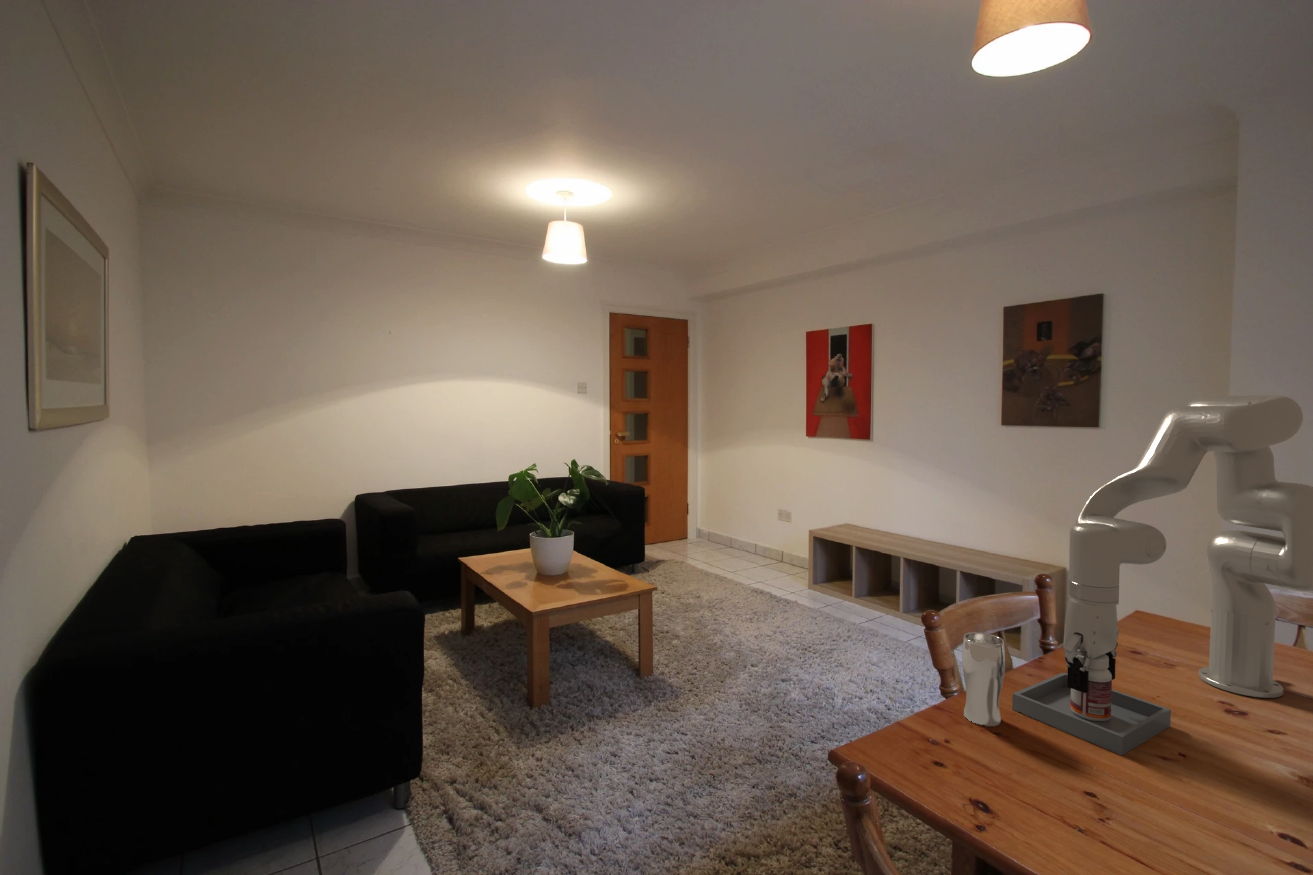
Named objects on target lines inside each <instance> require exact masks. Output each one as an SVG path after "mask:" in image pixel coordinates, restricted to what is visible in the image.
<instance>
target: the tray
mask: <svg viewBox="0 0 1313 875" xmlns="http://www.w3.org/2000/svg"><path fill="white" fill-rule="evenodd" d="M1067 679H1068V672H1067V673H1066V672H1063V671H1062V672H1061V673H1058V674H1055V675H1053V676H1051V677H1048V678H1047V679H1044V680H1041V681H1039V682H1037V683H1034V684H1032V685H1030V686H1027V687H1025V688H1023V689H1020V690H1018V691H1017V690H1016V691H1015V692H1013V693H1012V703H1011V704H1012V707H1011V708H1012V709H1013V711H1015V710H1016V711H1015V712H1017V713H1019V712H1021V713H1020V714H1022V713H1023V714H1022V715H1024V714H1025V716H1027V717H1029V716H1030V717H1029V718H1031V717H1032V718H1031V719H1034V720H1036V721H1038V720H1039V722H1041V723H1044V724H1045V725H1049V726H1050V727H1054V728H1056V729H1058V730H1060V731H1062V732H1065V733H1067V734H1069V735H1072V736H1074V737H1076V738H1080V739H1081V740H1084V741H1085V742H1089V743H1091V744H1093V745H1095V746H1099V747H1101V748H1103V749H1105V750H1109V751H1110V752H1112V753H1115V754H1117V755H1120V756H1124V755H1126V754H1127V753H1129V752H1130V751H1131V750H1133V749H1135V748H1137V747H1138V746H1140V745H1141V744H1143V743H1145V742H1147V741H1149V740H1150V739H1152V738H1154V737H1155V736H1156V735H1158V734H1160V733H1161V732H1163V731H1165V730H1167V729H1168V728H1170V727H1171V723H1172V722H1171V718H1172V717H1171V715H1172V709H1171V708H1168V707H1166V706H1162V705H1160V704H1156V703H1153V702H1151V701H1148V700H1145V699H1142V698H1139V697H1135V696H1133V695H1130V694H1127V693H1125V692H1122V691H1118V690H1116V689H1113V688H1112V693H1111V718H1110V719H1109V720H1107V721H1091V720H1087V719H1084V718H1082V717H1079V716H1078V715H1076V714H1074V713H1073V712H1072V710H1071V707H1070V704H1071V703H1070V702H1071V688H1069V687H1068V686H1067Z"/></svg>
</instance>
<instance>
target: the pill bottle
mask: <svg viewBox="0 0 1313 875" xmlns="http://www.w3.org/2000/svg"><path fill="white" fill-rule="evenodd" d="M1077 651H1080V652H1083V653H1087V652H1084V651H1081V650H1077ZM1076 657H1077V658H1078V659H1079V660H1080V662H1081V663H1082V660H1083V658H1082V657H1079V656H1076ZM1108 667H1109V657H1108V656H1107V655H1106V654H1103V655H1101V656H1099V657H1096V658H1093V659H1090V661H1089V663H1088V666H1087V668H1086V671H1089V679H1088V692H1087V693H1083V692H1080V691H1077V690H1074V689H1072V688H1071V702H1070V703H1071V704H1070V707H1071V710H1072V712H1073V713H1074V714H1076V715H1078V716H1079V717H1082V718H1084V719H1087V720H1091V721H1107V720H1109V719H1110V718H1111V693H1112V689H1113V688H1112V687H1113V680H1112V675H1111V673H1110V671H1109V670H1108V669H1107V668H1108Z"/></svg>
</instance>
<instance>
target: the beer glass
mask: <svg viewBox="0 0 1313 875" xmlns="http://www.w3.org/2000/svg"><path fill="white" fill-rule="evenodd" d="M1005 651H1006V650H1005V641H1004V639H1002V637H999V636H997V635H995V634H992V633H987V632H980V631H971V632H965V633H964V634H963V642H962V651H961V653H962V654H961V666H962V673H963V674H962V675H963V681H964V685H965V693H966V698H965V700H966V701H965V705H964V709H963V717H964V718H965V717H966V718H967V719H968V720H967V719H966V718H965V719H966V720H967V721H969V722H971V721H972V722H971V723H973V724H975V723H976V724H975V725H978V724H979V725H978V726H982V725H985V726H984V727H996V726H999V725H1000V724H1001V723H1002V722H1001V721H1002V719H1001V712H1000V695H1001V692H1002V687H1003V683H1004V682H1003V681H1004V678H1005V668H1006V652H1005Z"/></svg>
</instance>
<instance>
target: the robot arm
mask: <svg viewBox="0 0 1313 875" xmlns="http://www.w3.org/2000/svg"><path fill="white" fill-rule="evenodd" d="M1303 420H1304V414H1303V409H1302V408H1301V406H1300V404H1299V403H1298V402H1297V401H1296V400H1294V399H1293V398H1290V397H1289V396H1285V395H1214V396H1213V395H1212V396H1204V397H1198V398H1195V399H1193V400H1191V401H1190V402H1189V403H1188V404H1187V405H1186V406H1178V407H1176V408H1172V409H1170V410H1168V411H1166V413H1165V414H1164V415H1163V416H1162V417H1161V419H1160V421H1159V423H1158V424H1157V426H1156V428H1155V430H1154V431H1153V433H1152V435H1151V437H1150V439H1149V440H1148V442H1147V444H1146V446H1145V448H1144V449H1143V451H1142V452H1141V455H1140V457H1139V458H1138V460H1137V462H1136V464H1135V465H1134V466H1133V467H1132V468H1131V469H1129V470H1127V471H1125V472H1123V473H1122V474H1119V475H1118V476H1116V477H1114V478H1112V479H1111V480H1110V481H1108V482H1107V483H1105V484H1104V485H1102V486H1100V487H1099V488H1097V490H1096V491H1094V492H1093V494H1091V495H1090V496H1089V498H1088V499H1087V501H1086V502H1085V504H1084V506H1083V508H1082V509H1081V511H1080V513H1079V514H1078V517H1077V518H1076V521H1075V523H1074V524H1073V525H1072V526H1071V527H1070V531H1069V549H1068V550H1069V556H1068V557H1069V558H1068V559H1069V560H1068V564H1069V565H1068V566H1069V567H1068V598H1069V600H1068V603H1067V608H1066V613H1065V621H1064V631H1063V632H1064V633H1063V652H1064V655H1065V657H1064V659H1065V662H1066V663H1065V664H1066V667H1067V674H1068V679H1067V686H1068V687H1069V688H1072V689H1074V690H1077V691H1080V692H1083V693H1087V692H1088V679H1089V671H1086V668H1087V666H1088V663H1089V661H1090V659H1093V658H1096V657H1099V656H1101V655H1103V654H1106V655H1107V656H1108V657H1109V667H1108V668H1107V669H1108V670H1109V671H1110V673H1111V675H1112V681H1113V680H1115V679H1116V663H1117V662H1116V658H1117V656H1118V655H1117V654H1118V653H1117V650H1116V649H1117V648H1118V646H1119V645H1118V644H1119V642H1118V638H1119V636H1120V630H1119V629H1118V610H1117V605H1119V604H1120V573H1121V572H1120V569H1121V568H1120V566H1121V565H1122V564H1125V565H1127V564H1128V565H1129V564H1130V565H1148V564H1149V565H1150V564H1152V563H1154V562H1157V561H1158V560H1160V559H1161V558H1162V557H1163V556H1164V554H1165V552H1166V550H1167V540H1166V538H1165V535H1164V534H1163V533H1162V532H1161V531H1160V530H1159V529H1158V528H1157V527H1154V526H1152V525H1151V524H1147V523H1143V522H1138V521H1132V520H1127V519H1122V518H1116V516H1117V515H1118V514H1119V513H1120V512H1122V511H1123V510H1125V509H1126V508H1128V507H1130V506H1132V505H1135V504H1137V503H1140V502H1144V501H1148V500H1153V499H1158V498H1161V497H1166V496H1170V495H1173V494H1177V493H1179V492H1182V491H1184V490H1185V489H1187V487H1188V486H1189V484H1190V483H1191V480H1192V479H1193V477H1194V475H1195V472H1196V471H1197V470H1198V468H1199V465H1200V464H1201V462H1202V460H1203V458H1204V457H1205V455H1206V454H1207V453H1208V452H1209V453H1210V452H1213V454H1214V458H1215V467H1216V470H1215V471H1216V476H1215V477H1216V508H1217V512H1218V515H1219V516H1220V518H1221V519H1222V520H1224V521H1225V522H1228V523H1231V524H1235V525H1238V526H1239V525H1240V526H1244V527H1249V528H1257V529H1263V530H1269V531H1274V532H1275V531H1277V532H1281V533H1283V536H1284V537H1281V536H1276V535H1270V534H1265V533H1258V532H1254V531H1253V532H1252V531H1245V530H1238V529H1237V530H1233V529H1232V530H1224V531H1219V532H1217V533H1215V534H1214V535H1213V536H1212V537H1211V538H1210V539H1209V541H1208V544H1207V546H1206V555H1207V562H1208V565H1209V570H1210V576H1211V608H1210V610H1211V611H1210V612H1211V614H1210V631H1209V632H1210V634H1209V655H1208V659H1209V660H1208V665H1207V666H1203V667H1201V668H1199V670H1198V677H1199V678H1200V679H1201V680H1202V681H1204V682H1205V683H1207V684H1209V685H1211V686H1213V687H1215V688H1218V689H1220V690H1224V691H1227V692H1230V693H1234V694H1237V695H1242V696H1246V697H1247V696H1248V697H1253V698H1261V699H1262V698H1263V699H1275V698H1279V697H1282V696H1283V695H1284V688H1283V686H1282V685H1281V684H1280V683H1278V682H1277V681H1275V680H1274V657H1275V638H1276V637H1275V636H1276V633H1275V632H1276V617H1277V616H1276V615H1277V606H1276V601H1275V598H1274V596H1273V594H1272V593H1271V591H1270V589H1269V588H1268V587H1267V585H1272V586H1275V587H1279V588H1285V589H1290V590H1295V591H1299V592H1313V486H1312V485H1309V484H1303V483H1298V482H1297V483H1295V482H1287V481H1278V480H1277V479H1276V476H1275V475H1276V473H1275V458H1274V457H1275V456H1274V453H1273V451H1272V449H1271V446H1274V445H1277V444H1281V443H1283V442H1286V441H1288V440H1291V438H1293V437H1294V436H1295V435H1296V434H1297V433H1298V432H1299V430H1300V428H1301V426H1302V423H1303ZM1266 584H1267V585H1266ZM1077 650H1081V651H1084V652H1087V653H1083V652H1080V651H1077ZM1076 656H1079V657H1082V658H1083V660H1082V663H1081V662H1080V660H1079V659H1078V658H1077V657H1076Z"/></svg>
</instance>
